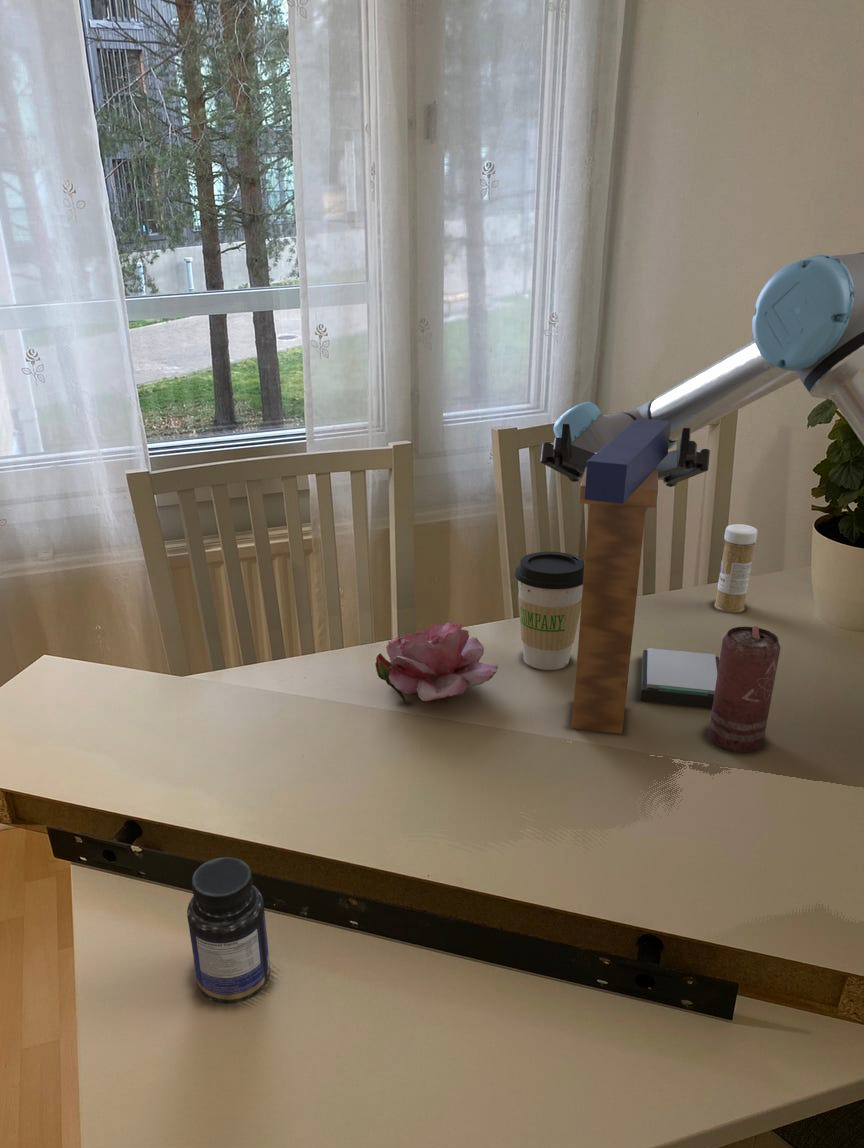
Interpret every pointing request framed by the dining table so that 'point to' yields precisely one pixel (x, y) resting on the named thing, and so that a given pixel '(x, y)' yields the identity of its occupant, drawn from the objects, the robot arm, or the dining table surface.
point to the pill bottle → (228, 931)
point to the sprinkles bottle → (735, 567)
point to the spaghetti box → (627, 461)
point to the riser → (609, 606)
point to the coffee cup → (549, 606)
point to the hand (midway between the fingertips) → (624, 437)
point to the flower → (434, 663)
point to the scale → (679, 677)
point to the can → (744, 688)
